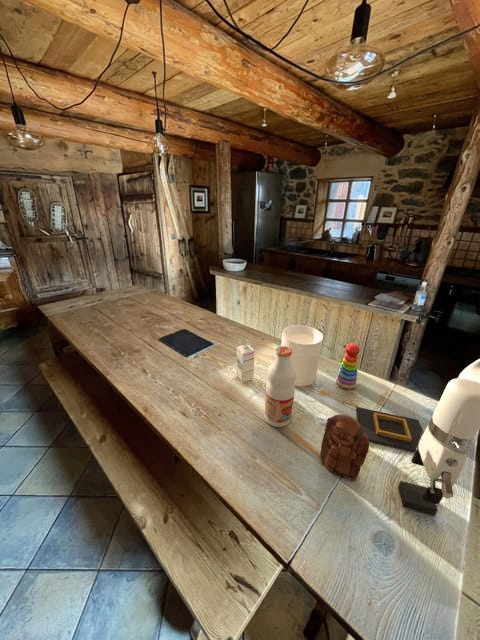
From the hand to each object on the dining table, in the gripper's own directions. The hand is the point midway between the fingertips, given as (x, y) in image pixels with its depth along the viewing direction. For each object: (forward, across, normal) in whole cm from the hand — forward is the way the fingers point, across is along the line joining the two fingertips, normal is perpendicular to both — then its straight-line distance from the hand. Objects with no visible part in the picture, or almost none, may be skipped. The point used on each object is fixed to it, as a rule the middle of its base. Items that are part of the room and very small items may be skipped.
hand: (423, 481), depth 65 cm
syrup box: (+9, +35, +56) cm, 66 cm away
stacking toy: (+8, +44, +14) cm, 47 cm away
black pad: (+8, 0, 0) cm, 8 cm away
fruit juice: (+9, +17, +38) cm, 43 cm away
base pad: (+8, +23, +2) cm, 25 cm away
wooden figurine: (+8, +4, +18) cm, 21 cm away
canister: (+8, +44, +34) cm, 57 cm away
